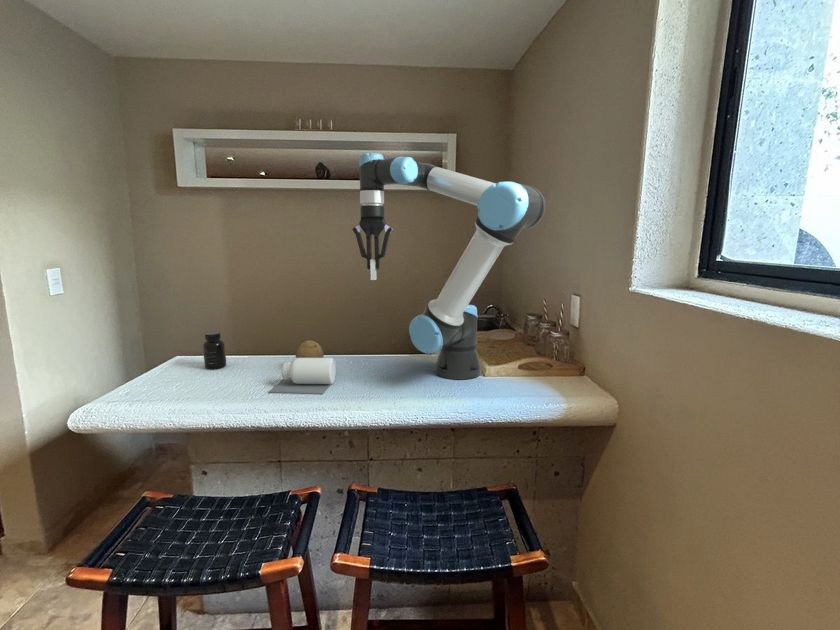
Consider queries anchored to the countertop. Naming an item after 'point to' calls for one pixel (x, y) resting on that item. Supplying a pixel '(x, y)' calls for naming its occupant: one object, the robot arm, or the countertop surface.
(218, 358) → the supplement bottle
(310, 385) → the mat
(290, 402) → the countertop surface
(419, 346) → the robot arm
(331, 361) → the pill bottle
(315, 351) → the natural sponge
